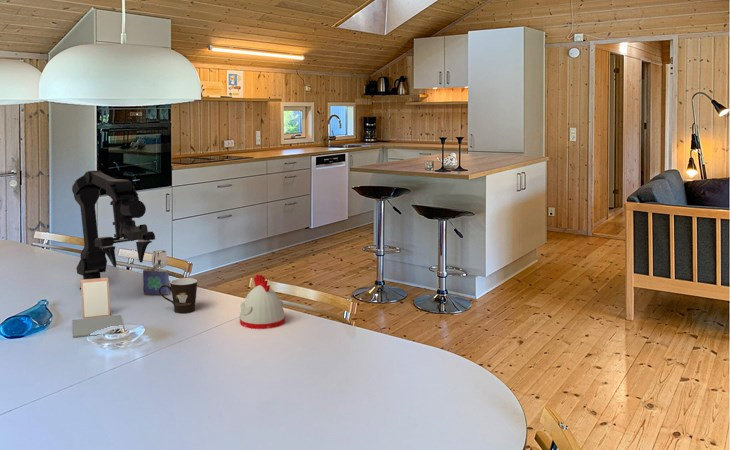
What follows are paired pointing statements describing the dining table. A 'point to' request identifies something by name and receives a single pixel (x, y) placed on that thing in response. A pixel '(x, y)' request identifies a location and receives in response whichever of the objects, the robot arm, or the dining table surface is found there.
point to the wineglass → (159, 259)
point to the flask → (155, 281)
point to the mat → (94, 324)
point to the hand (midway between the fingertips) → (128, 264)
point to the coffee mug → (182, 294)
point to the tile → (95, 298)
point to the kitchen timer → (261, 307)
